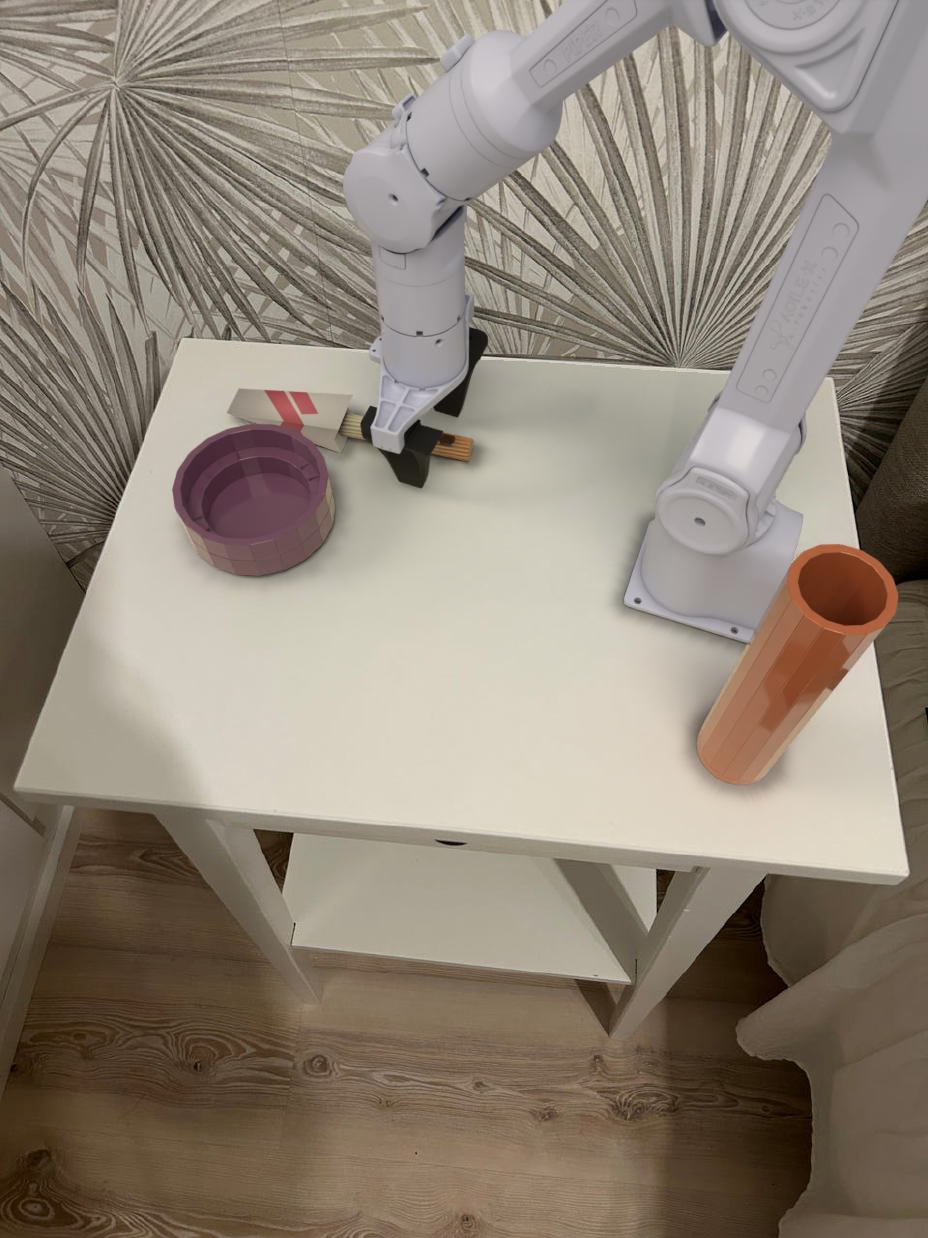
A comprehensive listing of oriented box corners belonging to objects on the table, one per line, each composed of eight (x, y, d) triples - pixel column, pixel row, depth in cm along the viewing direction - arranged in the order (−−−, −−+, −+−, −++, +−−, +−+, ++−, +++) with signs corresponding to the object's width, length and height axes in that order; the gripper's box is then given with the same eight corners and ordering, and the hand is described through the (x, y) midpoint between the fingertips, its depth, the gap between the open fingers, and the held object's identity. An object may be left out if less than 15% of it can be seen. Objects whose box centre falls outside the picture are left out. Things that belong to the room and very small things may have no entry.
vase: (779, 728, 60) (904, 561, 42) (765, 796, 57) (890, 648, 40) (706, 704, 61) (798, 531, 43) (688, 770, 58) (779, 614, 41)
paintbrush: (238, 370, 72) (477, 421, 71) (243, 394, 75) (475, 444, 73) (220, 404, 71) (465, 457, 69) (226, 427, 73) (464, 480, 71)
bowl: (359, 484, 70) (352, 446, 67) (296, 598, 65) (284, 564, 61) (233, 447, 73) (219, 407, 69) (162, 554, 67) (143, 518, 63)
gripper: (407, 226, 63) (418, 370, 74) (319, 366, 56) (345, 500, 68) (502, 248, 61) (497, 391, 73) (423, 395, 55) (432, 526, 66)
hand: (430, 445), depth 70 cm, fingers open, 7 cm apart
